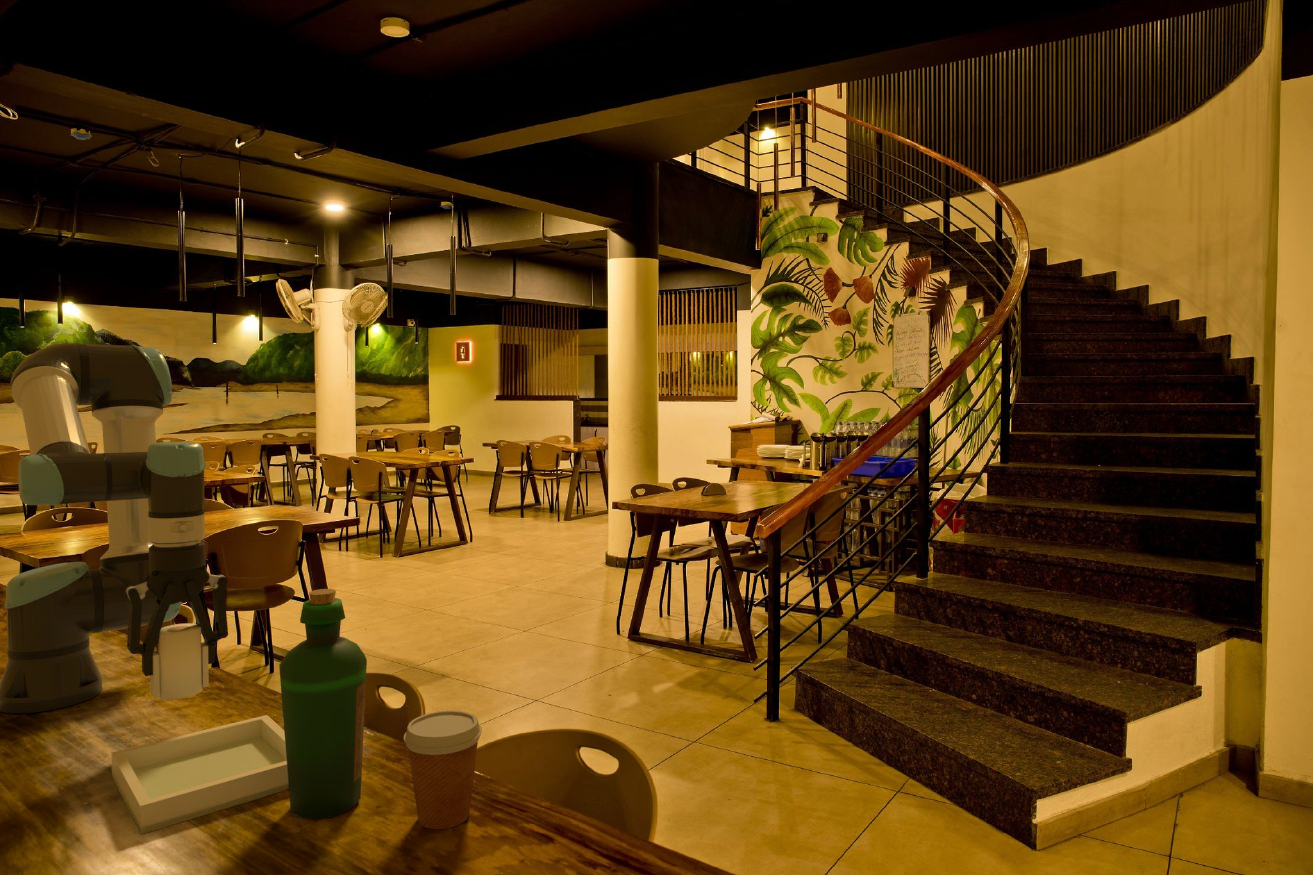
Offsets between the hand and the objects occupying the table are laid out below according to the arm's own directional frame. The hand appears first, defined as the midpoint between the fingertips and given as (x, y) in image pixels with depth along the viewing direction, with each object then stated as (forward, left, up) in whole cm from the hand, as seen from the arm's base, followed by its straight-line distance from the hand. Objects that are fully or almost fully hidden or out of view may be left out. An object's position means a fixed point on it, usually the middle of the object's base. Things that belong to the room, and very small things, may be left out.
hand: (179, 689), depth 125 cm
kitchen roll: (0, 0, 0) cm, 0 cm away
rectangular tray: (+19, 0, -8) cm, 20 cm away
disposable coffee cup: (+50, +19, -8) cm, 54 cm away
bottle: (+37, +9, -8) cm, 38 cm away
